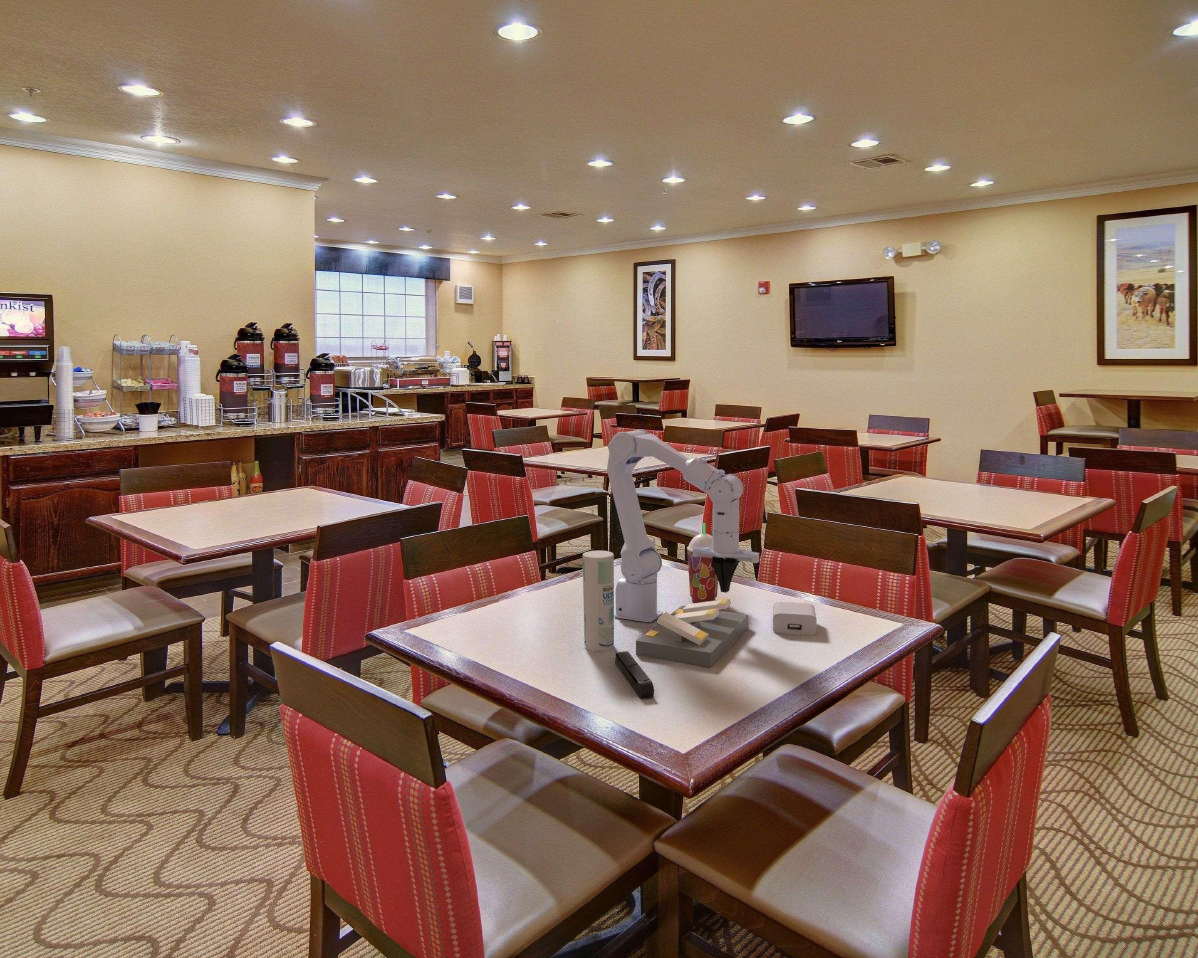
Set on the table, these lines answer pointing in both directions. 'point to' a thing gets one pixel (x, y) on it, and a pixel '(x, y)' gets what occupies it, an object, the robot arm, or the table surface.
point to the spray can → (598, 600)
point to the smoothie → (701, 571)
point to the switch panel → (683, 650)
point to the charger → (794, 618)
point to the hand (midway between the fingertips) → (725, 591)
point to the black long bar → (634, 674)
